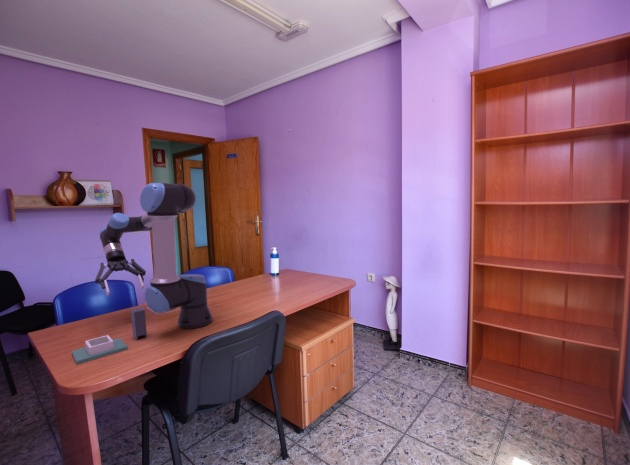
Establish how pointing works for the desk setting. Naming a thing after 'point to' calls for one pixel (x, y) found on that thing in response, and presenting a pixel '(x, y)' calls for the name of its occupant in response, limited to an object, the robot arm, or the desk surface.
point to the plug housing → (138, 322)
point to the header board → (98, 349)
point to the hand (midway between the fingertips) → (125, 290)
